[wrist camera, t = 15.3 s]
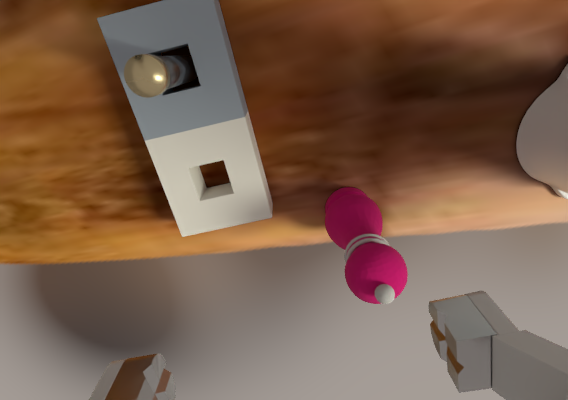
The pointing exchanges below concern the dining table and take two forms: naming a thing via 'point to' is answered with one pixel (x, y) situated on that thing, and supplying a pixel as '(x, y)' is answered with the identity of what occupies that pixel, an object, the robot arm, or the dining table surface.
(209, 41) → the pin board
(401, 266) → the pepper mill
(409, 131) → the dining table surface
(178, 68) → the lock pin
